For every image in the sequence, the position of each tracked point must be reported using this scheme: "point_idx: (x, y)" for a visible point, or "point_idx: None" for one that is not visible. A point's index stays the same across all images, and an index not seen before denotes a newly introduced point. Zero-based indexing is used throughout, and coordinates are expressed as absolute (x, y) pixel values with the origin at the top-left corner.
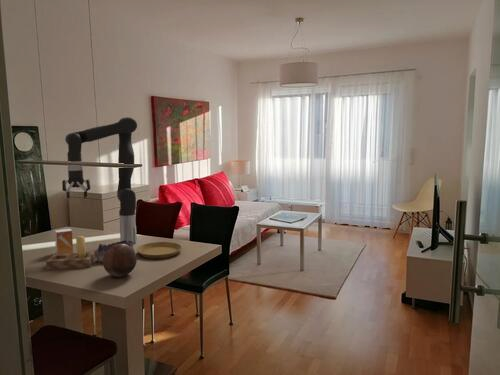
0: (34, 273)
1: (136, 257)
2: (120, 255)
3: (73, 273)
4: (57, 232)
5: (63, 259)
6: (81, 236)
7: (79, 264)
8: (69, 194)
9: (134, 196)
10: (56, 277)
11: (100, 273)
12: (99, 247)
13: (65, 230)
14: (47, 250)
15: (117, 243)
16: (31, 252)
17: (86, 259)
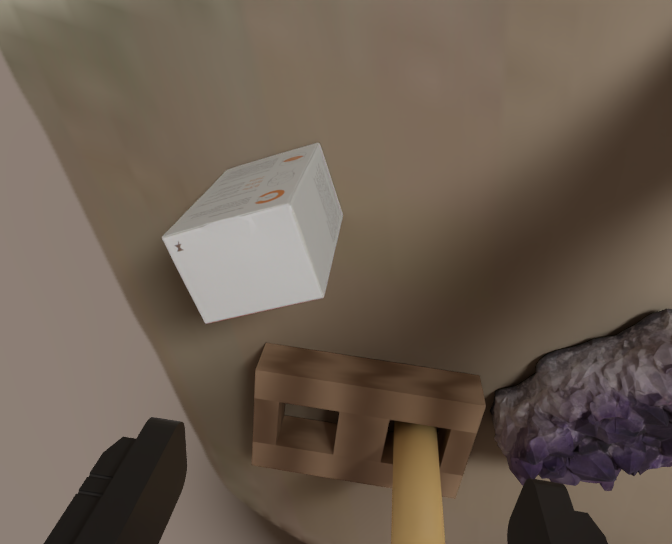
0: (225, 460)
1: None
2: None
3: (386, 507)
4: (212, 321)
5: (329, 463)
6: (424, 541)
7: None
8: (145, 537)
9: None
10: (326, 521)
11: (495, 538)
12: (522, 476)
13: (264, 281)
14: (143, 81)
15: (652, 424)
16: (50, 103)
17: (442, 496)
